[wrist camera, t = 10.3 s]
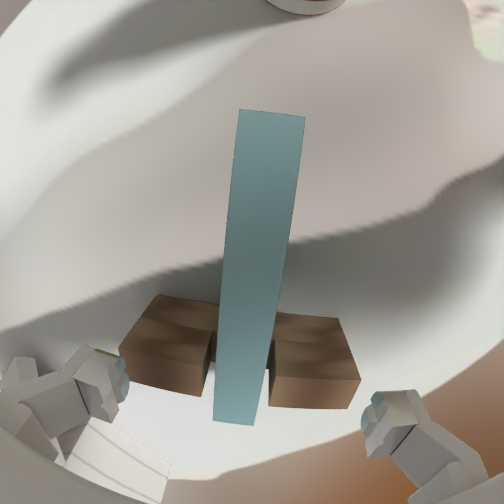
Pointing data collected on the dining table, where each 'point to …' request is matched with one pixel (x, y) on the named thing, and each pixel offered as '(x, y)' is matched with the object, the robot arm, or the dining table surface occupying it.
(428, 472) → the robot arm
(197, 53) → the dining table surface
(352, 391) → the brown wooden angled block
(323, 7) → the milk bottle
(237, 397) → the plank
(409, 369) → the dining table surface
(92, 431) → the pizza boxes
